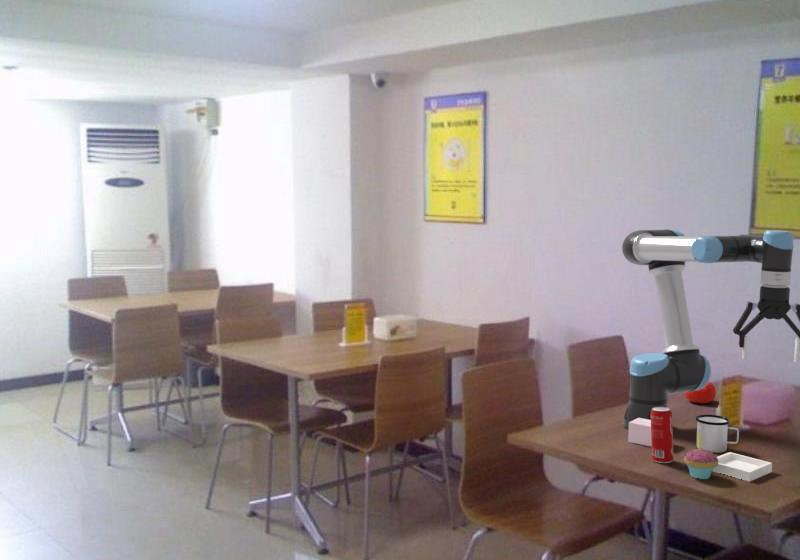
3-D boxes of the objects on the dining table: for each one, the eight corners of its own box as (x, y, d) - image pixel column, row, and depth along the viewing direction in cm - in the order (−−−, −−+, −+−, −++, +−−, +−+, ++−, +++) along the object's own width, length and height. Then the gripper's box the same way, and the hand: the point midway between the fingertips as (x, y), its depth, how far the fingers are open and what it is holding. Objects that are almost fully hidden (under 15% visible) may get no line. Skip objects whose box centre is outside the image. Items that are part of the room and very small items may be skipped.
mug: (696, 452, 231) (697, 421, 230) (692, 442, 240) (693, 413, 240) (740, 455, 228) (741, 424, 227) (735, 445, 237) (736, 416, 237)
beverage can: (674, 464, 220) (676, 411, 219) (650, 463, 222) (651, 410, 220) (671, 458, 226) (673, 406, 225) (647, 456, 227) (649, 405, 226)
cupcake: (678, 471, 215) (679, 427, 214) (708, 470, 216) (710, 427, 215) (692, 482, 206) (694, 437, 205) (723, 481, 207) (725, 436, 206)
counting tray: (706, 469, 216) (706, 460, 216) (729, 460, 224) (729, 452, 224) (749, 481, 207) (749, 472, 207) (771, 472, 215) (772, 463, 214)
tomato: (687, 405, 285) (688, 384, 284) (681, 397, 296) (682, 377, 295) (718, 406, 283) (719, 385, 282) (711, 398, 294) (712, 379, 293)
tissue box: (628, 441, 241) (628, 421, 241) (638, 436, 246) (638, 416, 246) (660, 448, 235) (660, 427, 234) (669, 443, 240) (670, 422, 239)
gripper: (729, 285, 222) (724, 360, 225) (827, 289, 216) (822, 366, 219) (725, 282, 229) (721, 354, 232) (820, 286, 223) (815, 360, 226)
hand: (770, 360), depth 225 cm, fingers open, 13 cm apart
